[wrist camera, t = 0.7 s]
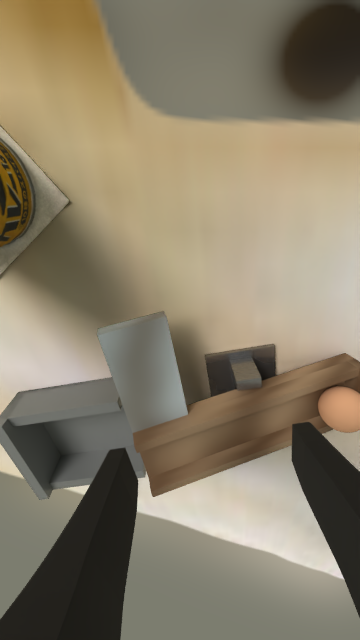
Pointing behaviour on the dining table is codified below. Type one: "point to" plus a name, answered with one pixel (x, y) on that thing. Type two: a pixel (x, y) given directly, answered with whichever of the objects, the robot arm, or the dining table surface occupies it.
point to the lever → (207, 406)
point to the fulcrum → (240, 368)
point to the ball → (340, 408)
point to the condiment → (23, 200)
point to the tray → (66, 434)
